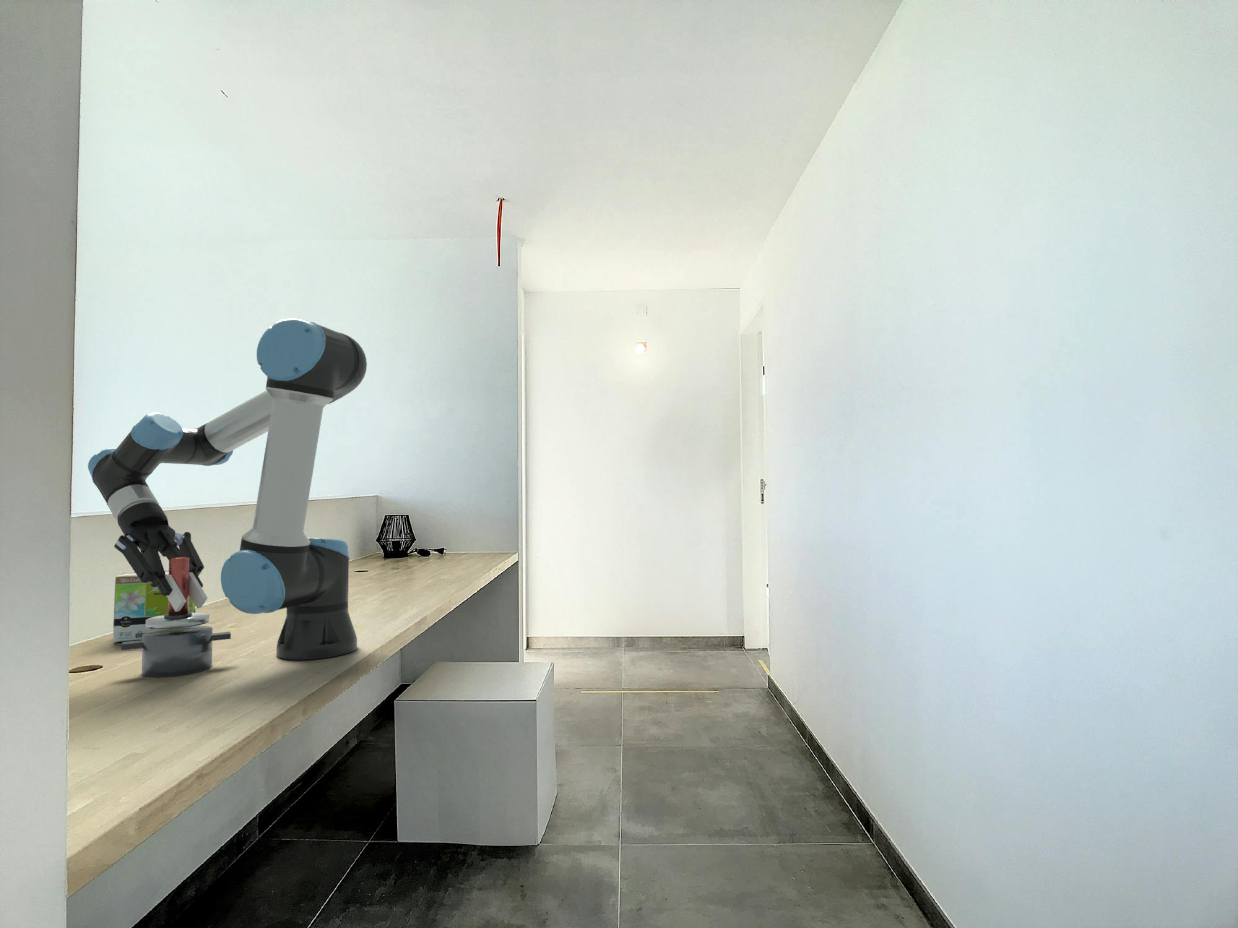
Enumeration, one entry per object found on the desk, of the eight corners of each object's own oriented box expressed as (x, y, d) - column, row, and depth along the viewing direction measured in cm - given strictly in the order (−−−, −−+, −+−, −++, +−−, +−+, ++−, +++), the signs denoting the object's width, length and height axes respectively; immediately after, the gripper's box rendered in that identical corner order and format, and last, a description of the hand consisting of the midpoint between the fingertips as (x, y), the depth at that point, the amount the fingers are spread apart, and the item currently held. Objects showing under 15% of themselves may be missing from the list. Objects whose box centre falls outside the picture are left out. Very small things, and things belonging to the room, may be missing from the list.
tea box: (112, 644, 153) (113, 576, 153) (120, 635, 162) (121, 571, 162) (192, 636, 160) (193, 571, 160) (195, 629, 169) (196, 567, 169)
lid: (221, 619, 134) (222, 555, 135) (184, 629, 124) (185, 560, 125) (172, 618, 135) (173, 555, 136) (131, 628, 125) (133, 560, 126)
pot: (228, 657, 139) (229, 621, 139) (231, 669, 129) (231, 630, 130) (124, 669, 130) (124, 631, 130) (118, 682, 120) (119, 641, 121)
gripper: (172, 525, 145) (224, 611, 137) (83, 529, 130) (135, 626, 122) (189, 499, 143) (242, 585, 135) (100, 500, 128) (154, 597, 120)
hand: (191, 604), depth 128 cm, fingers open, 3 cm apart
